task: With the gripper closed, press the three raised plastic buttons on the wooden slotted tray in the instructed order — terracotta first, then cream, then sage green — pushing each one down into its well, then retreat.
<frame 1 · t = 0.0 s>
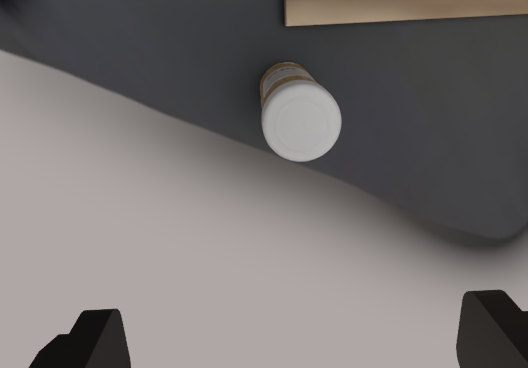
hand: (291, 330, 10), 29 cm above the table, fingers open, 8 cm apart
sprinkles bottle: (286, 87, 37), on the table
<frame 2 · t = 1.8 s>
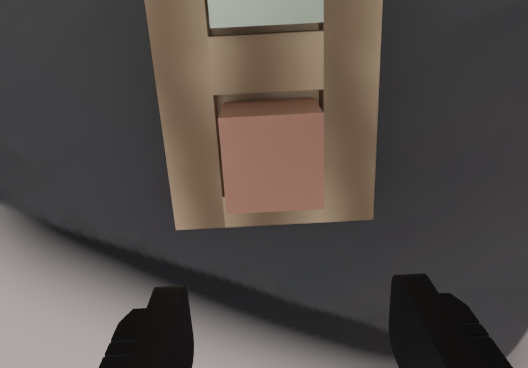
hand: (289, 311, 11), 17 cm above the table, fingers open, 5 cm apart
terracotta button: (271, 153, 24), point 4 cm above the table, slide at 0.0 cm
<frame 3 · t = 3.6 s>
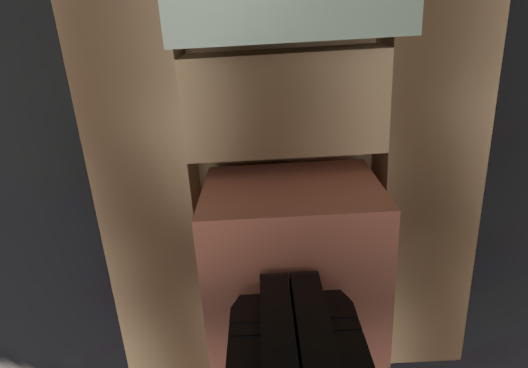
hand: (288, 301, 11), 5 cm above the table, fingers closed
terracotta button: (292, 262, 13), point 3 cm above the table, slide at 0.6 cm, touching gripper
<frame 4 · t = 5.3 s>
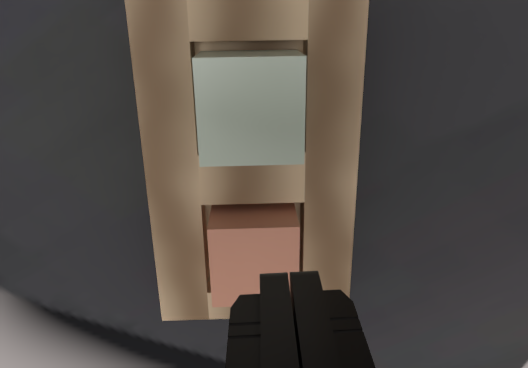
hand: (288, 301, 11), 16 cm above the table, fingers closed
wooden slotted tray: (250, 92, 26), on the table
terracotta button: (254, 250, 26), point 3 cm above the table, slide at 1.3 cm
sage button: (250, 105, 22), point 4 cm above the table, slide at 0.0 cm
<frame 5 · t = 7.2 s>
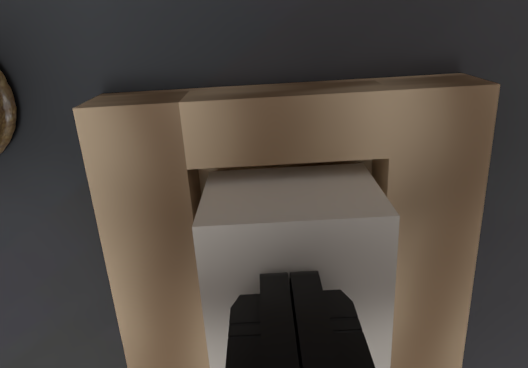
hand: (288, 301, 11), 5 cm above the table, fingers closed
cream button: (292, 266, 13), point 3 cm above the table, slide at 0.7 cm, touching gripper
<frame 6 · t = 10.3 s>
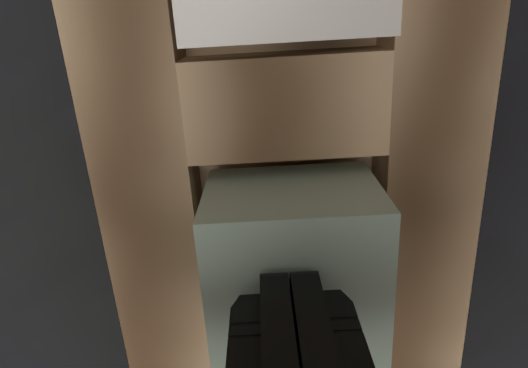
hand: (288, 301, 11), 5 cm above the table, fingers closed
wooden slotted tray: (286, 215, 17), on the table
sage button: (293, 264, 13), point 3 cm above the table, slide at 0.6 cm, touching gripper
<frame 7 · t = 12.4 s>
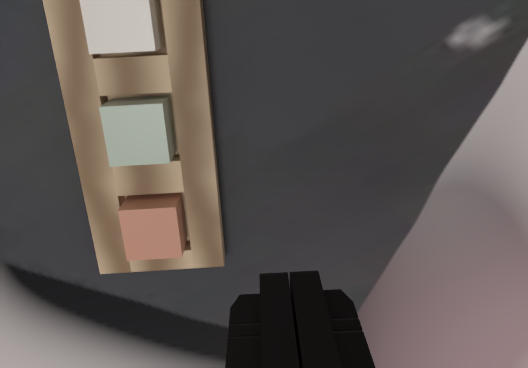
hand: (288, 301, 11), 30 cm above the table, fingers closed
wooden slotted tray: (147, 122, 40), on the table
terracotta button: (155, 224, 41), point 3 cm above the table, slide at 1.3 cm
sage button: (140, 129, 38), point 3 cm above the table, slide at 1.3 cm
cream button: (123, 17, 34), point 3 cm above the table, slide at 1.3 cm
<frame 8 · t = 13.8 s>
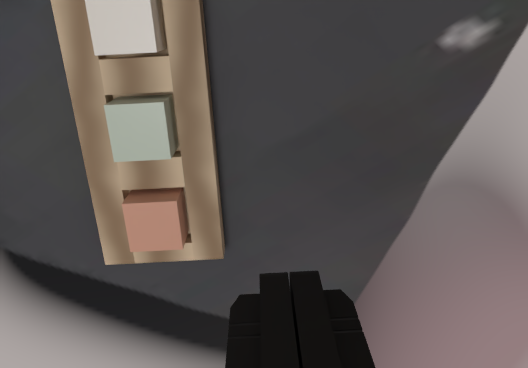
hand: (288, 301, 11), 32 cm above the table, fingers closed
wooden slotted tray: (150, 120, 42), on the table
terracotta button: (157, 217, 43), point 3 cm above the table, slide at 1.3 cm
sage button: (143, 127, 39), point 3 cm above the table, slide at 1.3 cm
cream button: (127, 20, 36), point 3 cm above the table, slide at 1.3 cm
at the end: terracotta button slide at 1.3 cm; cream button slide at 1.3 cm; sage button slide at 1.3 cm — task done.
